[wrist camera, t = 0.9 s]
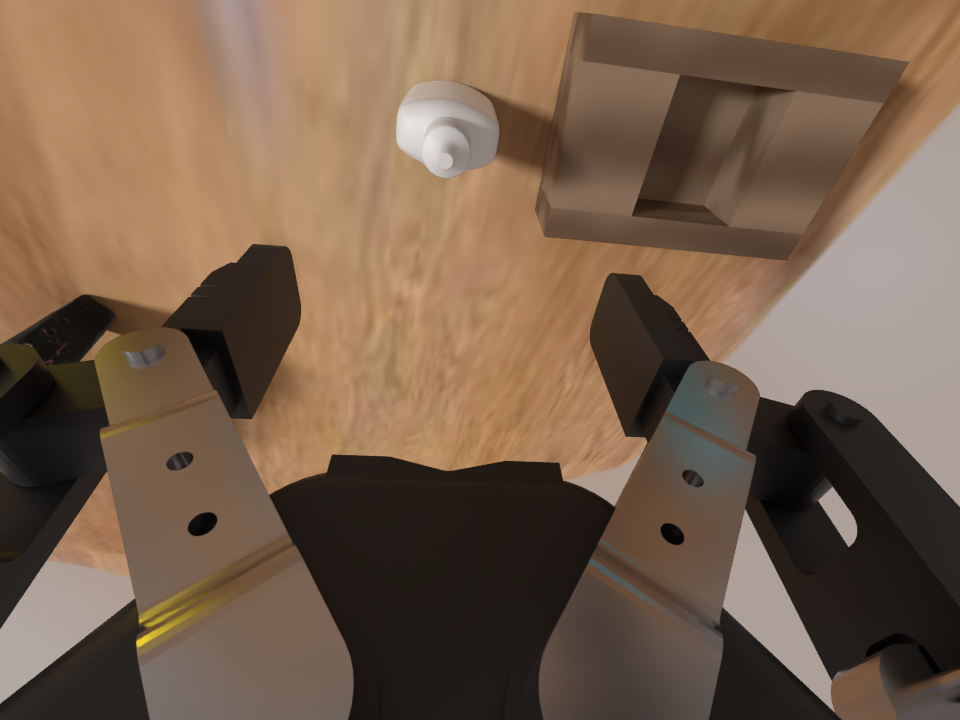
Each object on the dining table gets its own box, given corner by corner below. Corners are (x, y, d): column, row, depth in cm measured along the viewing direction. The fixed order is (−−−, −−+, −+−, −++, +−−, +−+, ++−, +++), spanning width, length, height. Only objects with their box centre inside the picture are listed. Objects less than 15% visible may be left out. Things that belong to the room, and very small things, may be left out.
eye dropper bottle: (434, 47, 27) (420, 70, 18) (503, 111, 29) (522, 161, 20) (396, 110, 29) (366, 160, 20) (463, 165, 31) (465, 233, 22)
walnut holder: (574, 12, 26) (594, 13, 22) (846, 53, 28) (909, 62, 24) (535, 209, 33) (544, 236, 30) (751, 232, 35) (786, 260, 31)
